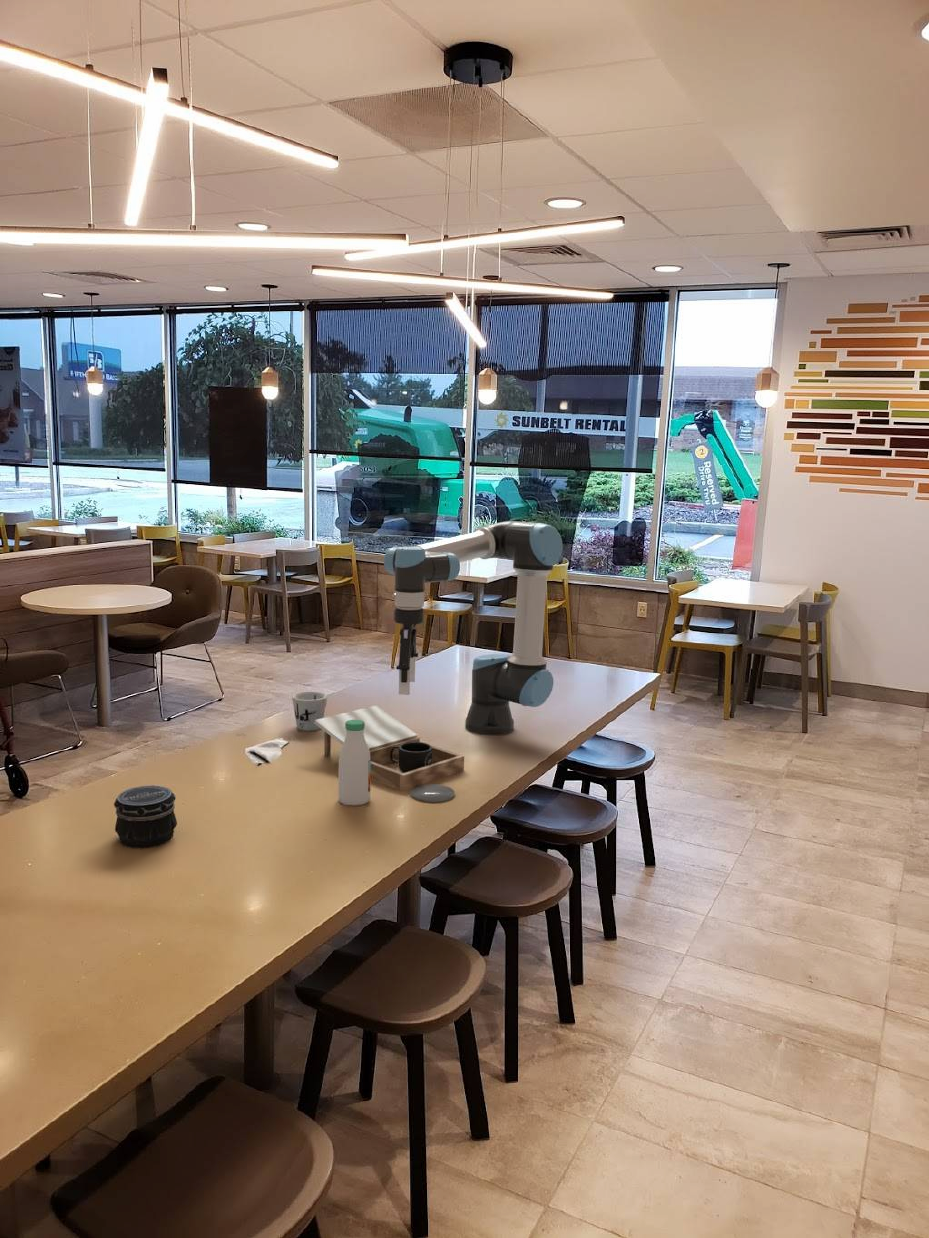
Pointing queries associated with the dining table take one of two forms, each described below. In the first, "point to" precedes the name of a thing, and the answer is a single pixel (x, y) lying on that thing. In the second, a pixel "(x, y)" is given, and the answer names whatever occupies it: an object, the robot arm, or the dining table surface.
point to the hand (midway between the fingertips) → (406, 687)
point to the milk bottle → (354, 766)
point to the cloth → (266, 751)
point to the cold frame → (389, 747)
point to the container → (145, 816)
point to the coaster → (432, 793)
